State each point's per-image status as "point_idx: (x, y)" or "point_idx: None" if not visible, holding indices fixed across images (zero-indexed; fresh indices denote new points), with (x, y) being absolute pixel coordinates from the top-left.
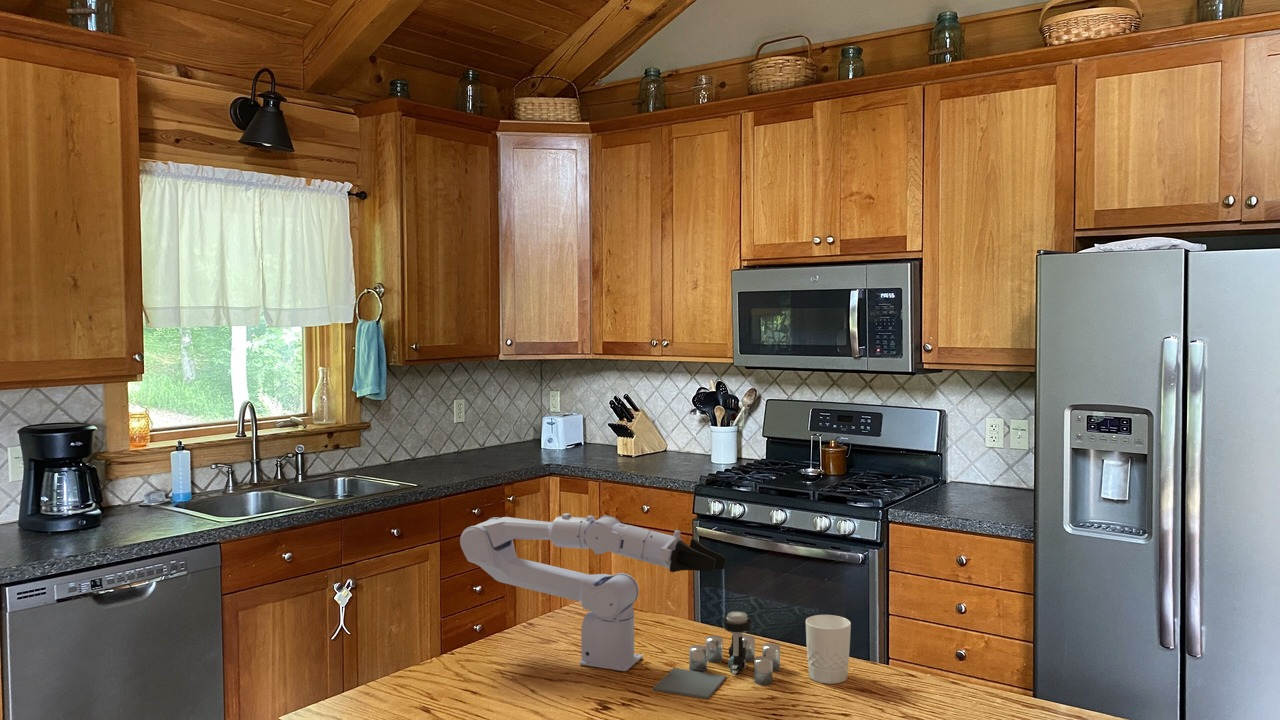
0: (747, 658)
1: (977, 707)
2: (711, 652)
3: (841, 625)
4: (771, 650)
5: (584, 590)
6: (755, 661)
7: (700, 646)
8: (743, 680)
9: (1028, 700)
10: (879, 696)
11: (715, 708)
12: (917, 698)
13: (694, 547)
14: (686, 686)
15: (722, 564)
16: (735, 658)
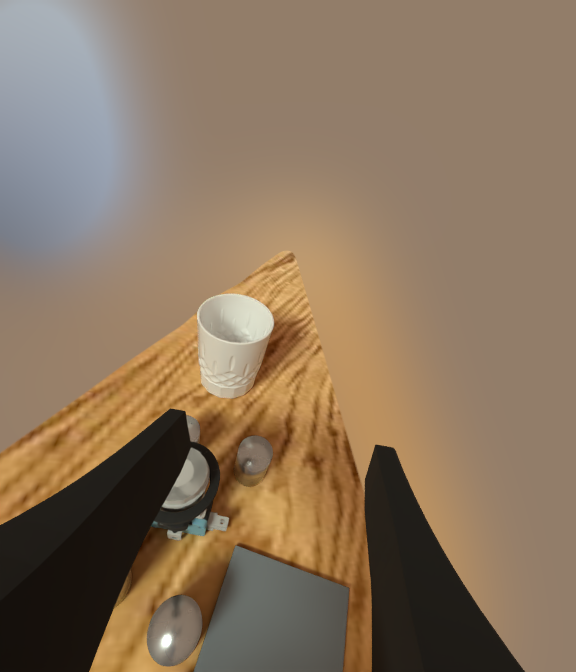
0: None
1: (299, 284)
2: (124, 587)
3: (214, 308)
4: (199, 433)
5: None
6: (263, 467)
7: (161, 620)
8: (245, 507)
9: (279, 256)
10: (287, 340)
11: None
12: (286, 314)
13: (33, 613)
14: (305, 657)
15: (186, 440)
16: (206, 514)
